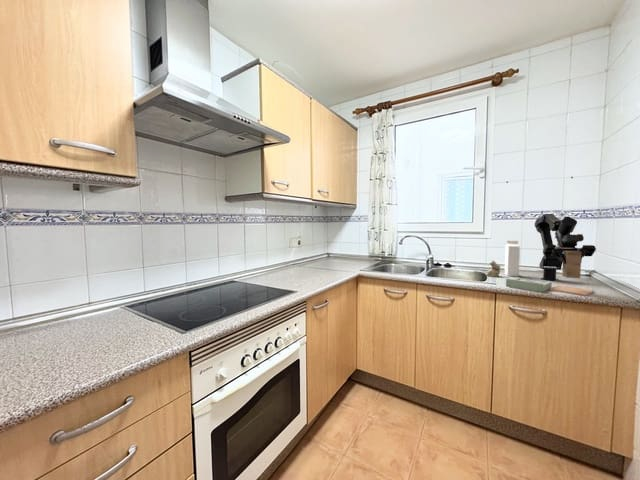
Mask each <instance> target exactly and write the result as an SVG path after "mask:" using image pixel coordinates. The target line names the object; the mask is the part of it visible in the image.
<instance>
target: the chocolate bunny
mask: <svg viewBox="0 0 640 480" xmlns="http://www.w3.org/2000/svg"><path fill="white" fill-rule="evenodd" d="M489 266H491V268H490V269H488V271H486V274H485V277H490V278H492V277H493V278H495V277H496V278H498V277H499V276H500V275H499V274H500V273H501V265H499V264H498V263H496V261H494V260H492V261H491V262H489Z"/></svg>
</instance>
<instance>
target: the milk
mask: <svg viewBox="0 0 640 480" xmlns="http://www.w3.org/2000/svg"><path fill="white" fill-rule="evenodd" d="M504 248H505V249H504V275H505V276H507V277H517V278H520V259H521V258H520V252H521V246H520V244H519V240H507V241H506V244H505V245H504Z"/></svg>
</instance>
